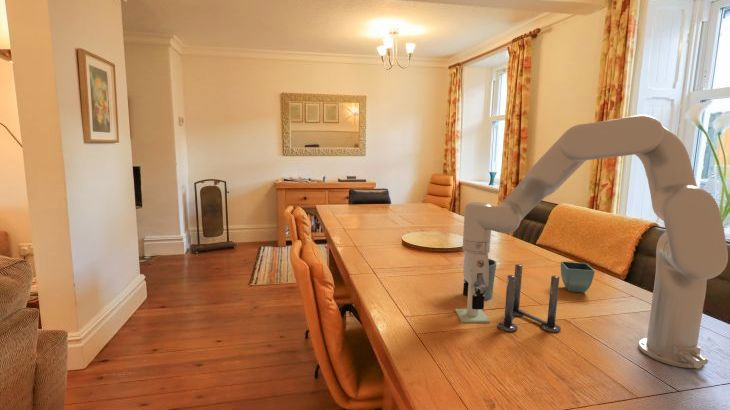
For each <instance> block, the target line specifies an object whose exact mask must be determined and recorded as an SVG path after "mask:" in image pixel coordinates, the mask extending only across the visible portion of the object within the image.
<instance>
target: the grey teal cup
mask: <svg viewBox="0 0 730 410" xmlns="http://www.w3.org/2000/svg"><path fill="white" fill-rule="evenodd" d="M488 261H489V277H488V287H485V296H484V301H488V300H491V299H492V298H493V294H494V285H495V284H494V283H495V276H496V275H495V274H496V270H497V264H498V263H497V261H496V260H494V259H491V258H488Z"/></svg>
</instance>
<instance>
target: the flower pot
mask: <svg viewBox="0 0 730 410" xmlns="http://www.w3.org/2000/svg"><path fill="white" fill-rule="evenodd" d="M595 272H596V270H595V269H594V268H592V267H591V266H590V265H589V264H588V263H585V262H573V261H560V276H561V280H562V282H563V285H564V287H565V288H566V289H567V291H569V292H571V293H572V292H573V293H586V292H587V291H588V290H589V289H590V287H591V286H592V284H593V280H594V276H595V274H596V273H595Z"/></svg>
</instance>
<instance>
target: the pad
mask: <svg viewBox="0 0 730 410" xmlns="http://www.w3.org/2000/svg"><path fill="white" fill-rule="evenodd" d="M455 312H456V315H457V316H458V318H459V319H460V321H461V323H467V324H468V323H473V324H474V323H475V324H476V323H477V324H478V323H481V324H484V323H485V324H486V323H487V324H490V322H491V321H490V319H489V318H488V316H487V315H486V313H485V311H483V309H478V316H477V317H470V316H468V315H467V308H455Z"/></svg>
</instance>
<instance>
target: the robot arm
mask: <svg viewBox="0 0 730 410" xmlns="http://www.w3.org/2000/svg"><path fill="white" fill-rule="evenodd" d="M634 155H635V156H636V157H637V158H639V160H640V161H641V163H642V165H643V167H644V168H643V169H644V170H645V171H644V172H645V176H646V178H647V183H648V187H649V188H648V189H649V193H650V200H651V206H652V210H653V213H654V214H655V215H656V217H658V218H659V219H660V220H661V221H663V223H664V224H663V225H664V227H665V228H664V229H665V231H664V232H663V233H662V234H661V235H660V236H659V239H658V240H657V243H656V250H655V251H656V252H655V278H654V286H653V291H652V298H651V305H650V306H651V307H650V313H649V320H648V329H647V336H646V337H644V338H642V339H639V341H638V346H637V347H638V348H639V350H640V351H641V352H642V353H643V354H644V355H645V356H647V357H649V358H652V359H653V360H655V361H658V362H661V363H663V364H666V365H669V366H673V367H677V368H684V369H701V368H702V367H703V365H707V364H708V362H709V360H708V358H705V357H704V356H703V355H702V354H701V349H702V348H701V347H700V346H699V345H698V344H699V343H698V342H699V336H700V331H701V323H702V317H703V311H704V305H705V299H706V293H707V281H708V280H711V279H714V278H716V277H718V276H719V275H721V274H722V272H724V271H725V269H726V268H727V265H728V262H729V253H728V250H729V249H728V244H727V239H726V235H725V230H724V224H723V220H722V219H723V218H722V216H721V211H720V208H719V204H718V202H717V201H716V200H715V198H714V196H713V195H712V194H711V193H710V192H709V191H707V190H706V189H703V188H701V187H699V186H698V185H697V182H696V178H695V173H694V170H693V166H692V162H691V159H690V156H689V153H688V151H687V148H686V146H685V144H684V143H683V142H682V140H681V139H680V138H679V137H678V136H677V134H675V133H673V132H672V131H671V130H670V129H668V128H666V127H664V126H663V124H662V123H661V122H660V121H659V120H658V119H657V118H656V117H653V116H651V115H647V114H639V115H632V116H627V117H620V118H615V119H614V118H613V119H608V120H607V119H606V120H602V121H596V122H589V123H581V124H576V125H573V126H571V127H569V128H568V129H566V130H565V131H564V133H563V134H561V136H559V138H558V139H557V140H556V141H555V142H554V143H553V144H552V145H551V147H550V148H548V150H547V151H546V152H545V153H544V154H542V156H541V157H540V158H539V159H538V160H537V162H535V163H534V165H532V167H531V168H530V169H529V170H528V171H527V173H526V174H525V175H524V177H523V178H522V180H521V181H519V183H518V184H517V185H516V186H515V188H514V189H513V190H512V191H511V192H510V193H509V194H508V195H507V196H506V197H505V198H504V199H503V200H502V201H501V202H500V203H499V204H498V205H495V206H492V205H491V204H489V203H487V202H486V203H485V202H476V201H475V202H469V203H467V204H465V207H464V217H463V218H464V220H463V233H462V234H463V236H462V251H463V252H464V259H463V285H462V286H463V290H462V295H463V296H464V297H468V284H469V285H470V286H471V287H473V292H474V295H473V296H472V309H482V310H484V309H485V308H484V306H485V300H484V296H485V287H488V277H489V261H488V259H489V253H490V251H491V250H490V248H491V237H492V236H491V235H492V234H491V233H492V231H493V232H496V233H500V234H510V233H514V232H515V231H516V230H517V229H518V228H519V227H520V225H521V221H522V220H523V219H524V218H525V217H526V216H527V215H528V214H529V213H530V212H531V211H532V210H533V209H534V208H535V207H536V206H537V205H538V204H539V203H540V202H541V201H542V200H544V199H545V198H547V197H548V196H550V195H552V194H554V193H555V192H556V191H557V190H558V189H559V188H560V187H562V185H564V183H565V182H566V181H568V180H569V178H571V176H572V175H573V174H574V173H575V172H577V171H578V169H579V168H581V167H582V166H583V164H584V163H585V162H586V161H590V160H601V159H610V158H619V157H625V156H634ZM475 284H479V285H475ZM476 288H479V289H478V290H477V292H476Z"/></svg>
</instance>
